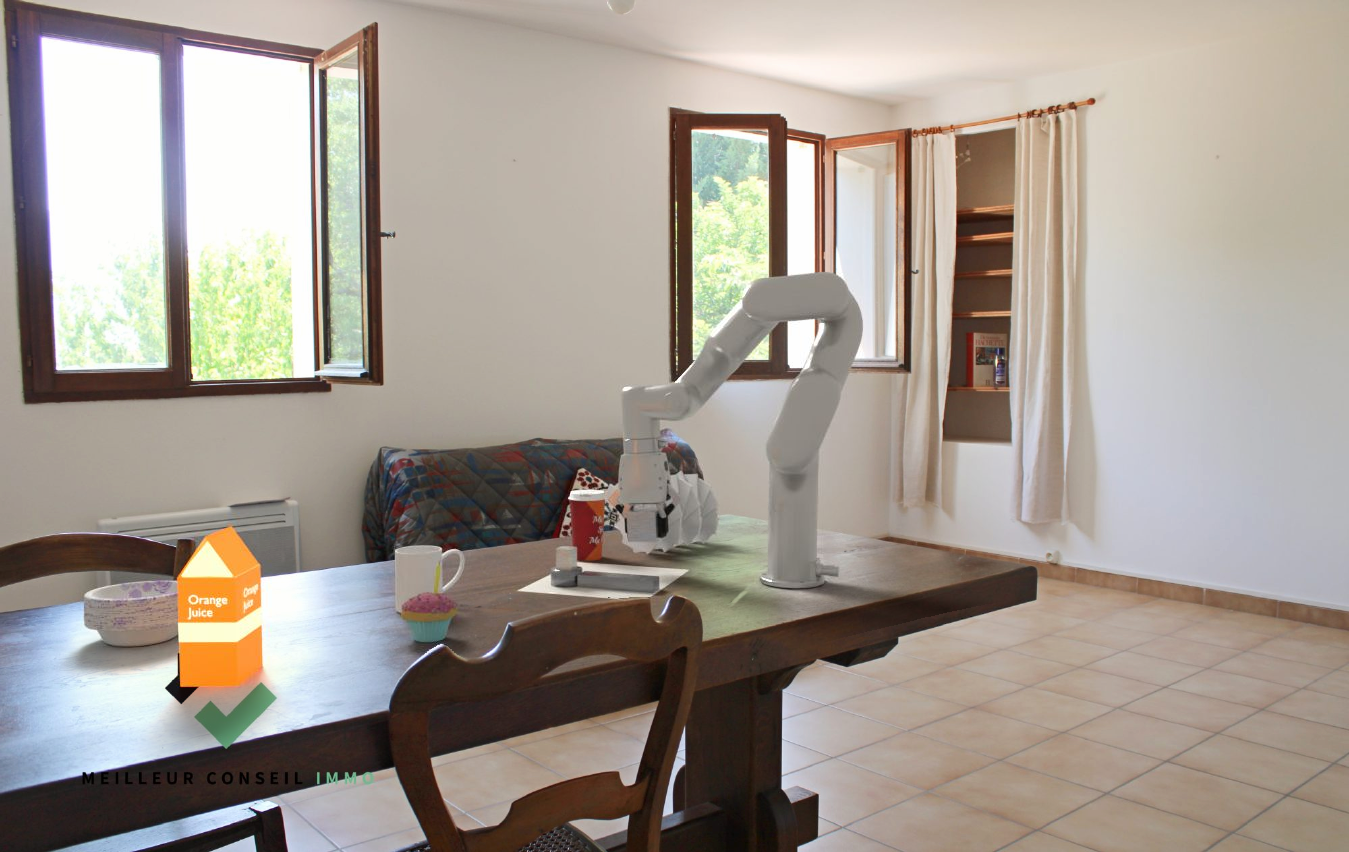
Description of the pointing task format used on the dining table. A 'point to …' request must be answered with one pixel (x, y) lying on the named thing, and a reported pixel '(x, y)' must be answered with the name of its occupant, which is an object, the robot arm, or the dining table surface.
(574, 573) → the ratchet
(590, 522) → the coffee cup
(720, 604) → the dining table surface
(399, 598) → the mug
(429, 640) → the cupcake
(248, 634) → the orange juice
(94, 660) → the dining table surface
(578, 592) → the white square board
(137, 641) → the paper bowls
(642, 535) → the light gray cube
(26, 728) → the dining table surface
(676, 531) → the white pleated paper lantern
